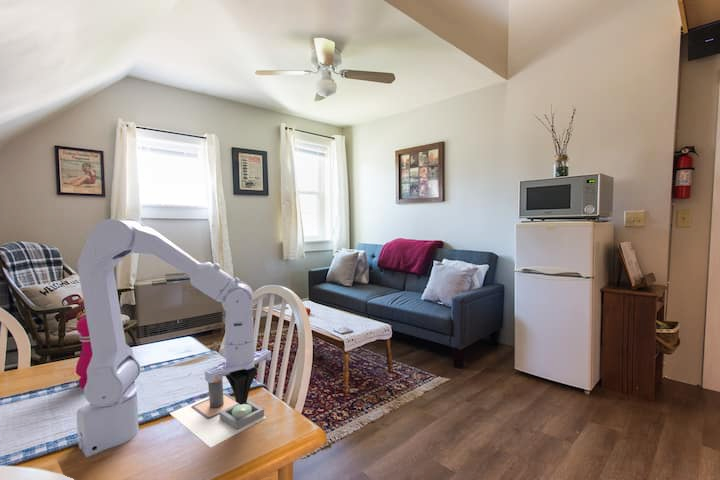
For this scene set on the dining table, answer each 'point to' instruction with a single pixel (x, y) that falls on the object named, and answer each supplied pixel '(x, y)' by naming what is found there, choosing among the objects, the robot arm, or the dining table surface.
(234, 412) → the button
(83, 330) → the pepper mill
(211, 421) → the board
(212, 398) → the marker
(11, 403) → the dining table surface
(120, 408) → the robot arm
